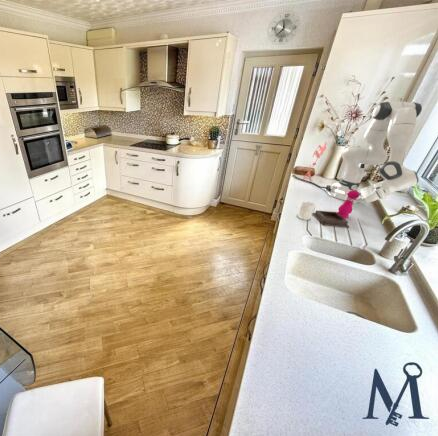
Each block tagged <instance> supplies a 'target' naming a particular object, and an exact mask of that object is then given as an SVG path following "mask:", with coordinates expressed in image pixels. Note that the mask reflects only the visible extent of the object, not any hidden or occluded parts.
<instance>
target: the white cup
mask: <svg viewBox="0 0 438 436" xmlns="http://www.w3.org/2000/svg"><path fill="white" fill-rule="evenodd" d="M316 208H317V204H315V203H314V202H312V201H311V202H310V201H306V200H305V201H302V202H301V205H300V207H299V210H298V214H297V217H298V218H299V219H300V220H304V221H308V220H310V218H311V217H312V216H313V215H312V213H315V212H314V211H316Z"/></svg>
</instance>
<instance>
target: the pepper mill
mask: <svg viewBox="0 0 438 436" xmlns="http://www.w3.org/2000/svg"><path fill="white" fill-rule="evenodd" d="M357 190H359V188H358V189H354V190H351V191H349V192H348V193H347V195H348V196H347V198H346V200H344V202H343V203H341V205H339V207H338V209H337V210H338V211H336V212H337V213H338V214H339V215H341V216H342V217H343V218H344V219H346V218H348V217H349V215H350V214H351V213H352V212H353V204H354V202H353V200H355V199H359V198H360V196H359V192H360V191H357Z"/></svg>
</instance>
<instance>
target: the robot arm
mask: <svg viewBox="0 0 438 436" xmlns="http://www.w3.org/2000/svg"><path fill="white" fill-rule="evenodd" d="M422 110H423V106H422V104H421V103H418V102H410V101H383V102H380V103H378V104H377V105H376V106H375V107H374V109H373V110H372V116H371V117H372V118H373V119H372V121H371V123H370V124H369V126H368V127H367V129H366V131H365V133H364V135H363V141H364V142H365V143H366V144H368V145H369V146H368V147H362V146H347V147H346V148H345V149H344V150H342V152H341V158H342V160H343V162H344V163H345V165H346V169H345V172H344V175H343V177H341V178H339V181H338V182H335V183H332V184H331V185H328V184H327V185H326V186H320V185H318V184H316V183H314V182H312V181H310V180H306V179H304V178H300V177H297V176H296V175H295V174H292V175H291V177H294V178H295V179H297V180H300V181H303V182H305V183H309V184H312V185H315V186H316V187H318V188H320V189H324V191H325V192H326V193H327V194H328V196H329V197H330V198H331V197H332V198H335V199H338V200H342V201H346V198H347V196H348V195H347V193H348V192H349V191H351V190H354V189H358V190H359V191H358V190H357V191H358V192H359V197H358V198H356V199H355V200H353V204H356V203H361V202H362V203H364V204H370V203H372V202H375V201H379V200H384V199H386V198H387V197H388V196H389V195H392V194H394V193H397V192H400V191H403V190H406V189H409V188H412V187H413V186H415V185H417V184H418V183H419V181H420V180H419V177H418V174H417V173H418V172H417V171H415V170H412V169H409V168H407V167H405V166H404V165H403V163H404V158H405V155H406V149H407V147H408V145H409V143H410V140H411V138H412V136H413V134H414V131H415V128H416V123H417V118H418V117H419V116H420V114H421V112H422ZM386 139H387V143H388V145H389V154H388V152H387V150H385V147H384V142H385V140H386ZM388 156H389V157H388ZM387 159H388V161H387ZM386 161H387V162H386ZM360 164H363V165H369V166H380V167H379V169H378V173H379V175H380V176H381V179H382V181H379V182H376V183H374V184H372V185H368V186H365V187H363V188H361V189H359V187H360V186H361V182H362V180H363V178H364V176H365V173H366V172H365V170H364V169H363V168H362V167H360V166H359V165H360ZM303 179H304V180H303Z"/></svg>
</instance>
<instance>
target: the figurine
mask: <svg viewBox="0 0 438 436" xmlns="http://www.w3.org/2000/svg"><path fill="white" fill-rule="evenodd" d="M327 144H328V142H327V141H324V143H323V145H321V144H319V145H318V147H317V148H316V149H315V151H314V152H313V155H312V157H314V156H315V157H316V160H315V162H312V164H310V165H309V168H310V169H309V171H307V173H306V174H305V175H303V178H302V179H303V180H306V179H307V177H308V179H309V182H312V180H311V175H312V174H311V171H312V169H313V167H312V166H316V165H317V161H318V160H319V159H321V158H320V157H321V156H323V153H324V152H325V150H326V148H327ZM319 151H320V152H319ZM314 178H316V179H317V177H314ZM303 180H302V181H303ZM318 180H319V182H322V180H320V178H318Z"/></svg>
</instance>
